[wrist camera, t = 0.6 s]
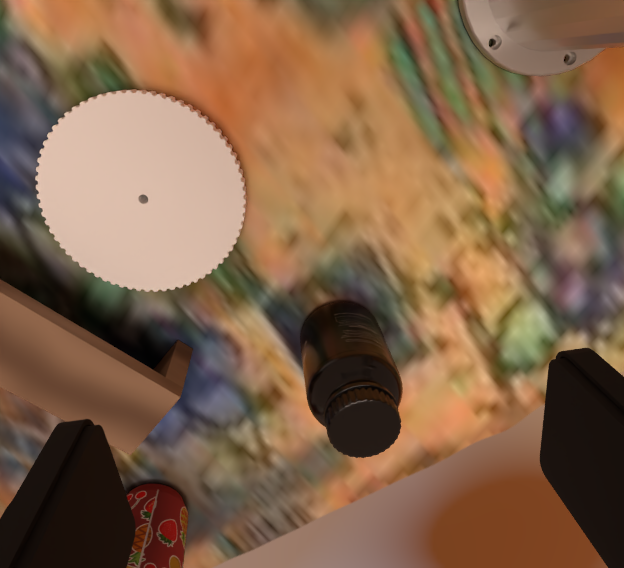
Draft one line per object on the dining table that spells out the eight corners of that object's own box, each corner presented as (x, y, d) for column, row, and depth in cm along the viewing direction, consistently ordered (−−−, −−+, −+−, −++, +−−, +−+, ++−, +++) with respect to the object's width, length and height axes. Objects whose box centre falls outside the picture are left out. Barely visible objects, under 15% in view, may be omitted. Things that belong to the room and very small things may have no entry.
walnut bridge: (-42, 201, 36) (-107, 229, 29) (193, 349, 42) (180, 397, 36) (-83, 268, 37) (-151, 308, 31) (149, 400, 43) (130, 454, 37)
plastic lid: (285, 185, 37) (286, 193, 35) (169, 311, 41) (163, 325, 38) (128, 41, 33) (118, 39, 30) (11, 196, 36) (-6, 205, 34)
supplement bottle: (282, 335, 42) (288, 430, 31) (343, 283, 41) (371, 363, 30) (336, 383, 44) (358, 486, 33) (395, 335, 43) (439, 427, 32)
